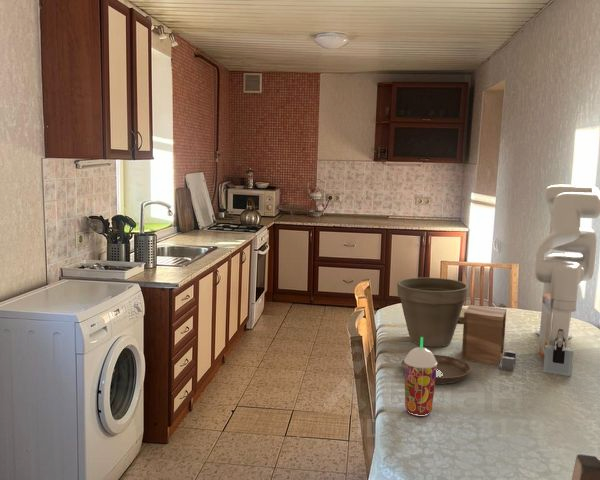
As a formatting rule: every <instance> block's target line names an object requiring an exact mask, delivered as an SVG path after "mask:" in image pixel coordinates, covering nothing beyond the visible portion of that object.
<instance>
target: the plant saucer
mask: <svg viewBox="0 0 600 480" xmlns="http://www.w3.org/2000/svg"><path fill="white" fill-rule="evenodd" d="M433 355H434V356H435V359H436V361H437V362H438V363H437V369H438V370H440V371H441V372H442V373H443V376H441V377H439V376H438V377H436V379H435V383H444V384H443V385H447V384H446V383H451V384H455V383H458V382H461V381H462V380H463V379H465V378H466V377H467V376H468V374H469V373H470V372H471V366H470V365H469V364H468V363H467V362H465V361H464V360H462V359H458V358H456V357H452V356H449V355H448V356H447V355H442V354H441V355H440V354H433ZM400 364H401V366H402V369H403V370H404V371H405V368H404V364H405V362H404V359H403V360H401V363H400ZM438 370H437V371H438ZM442 373H441V374H442ZM454 382H455V383H454Z"/></svg>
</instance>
